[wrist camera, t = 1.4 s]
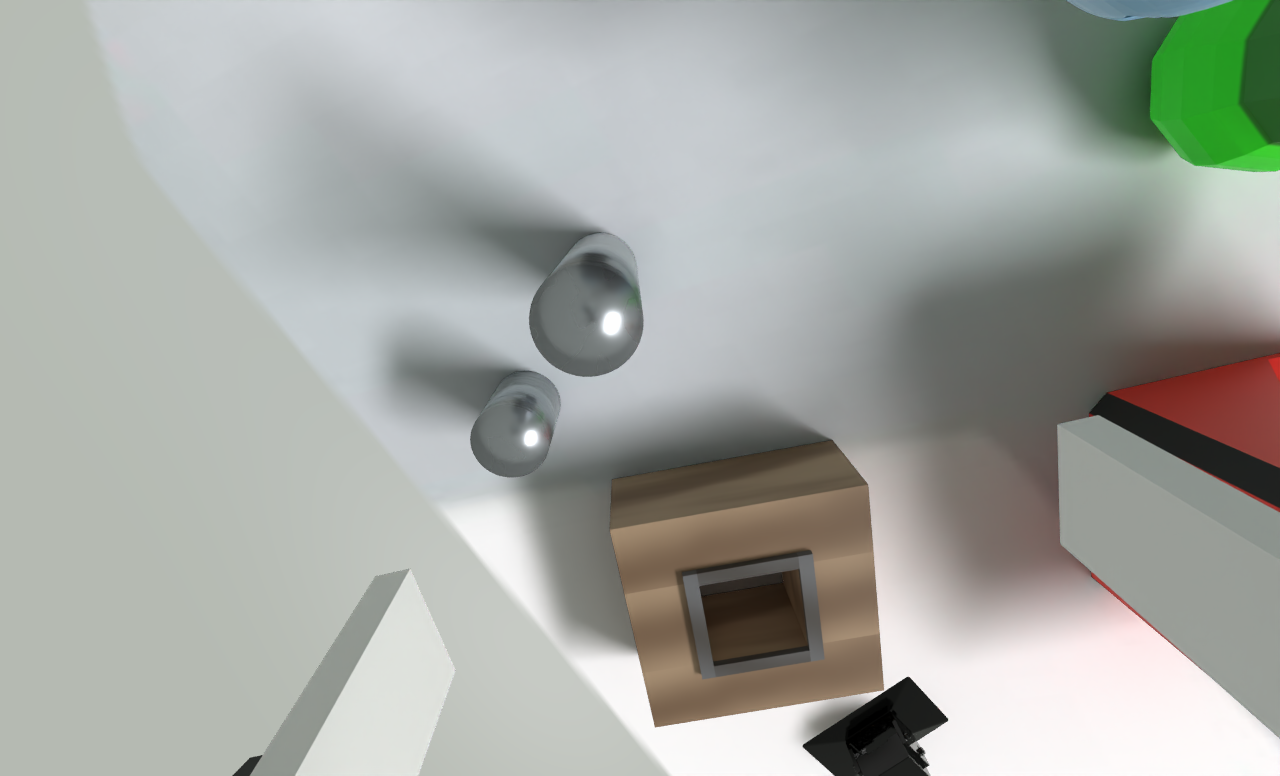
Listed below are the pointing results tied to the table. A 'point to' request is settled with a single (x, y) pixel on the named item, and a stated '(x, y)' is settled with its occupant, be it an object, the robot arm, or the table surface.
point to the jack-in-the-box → (1210, 425)
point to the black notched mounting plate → (880, 735)
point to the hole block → (742, 548)
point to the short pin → (516, 425)
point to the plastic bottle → (1221, 86)
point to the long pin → (589, 308)
